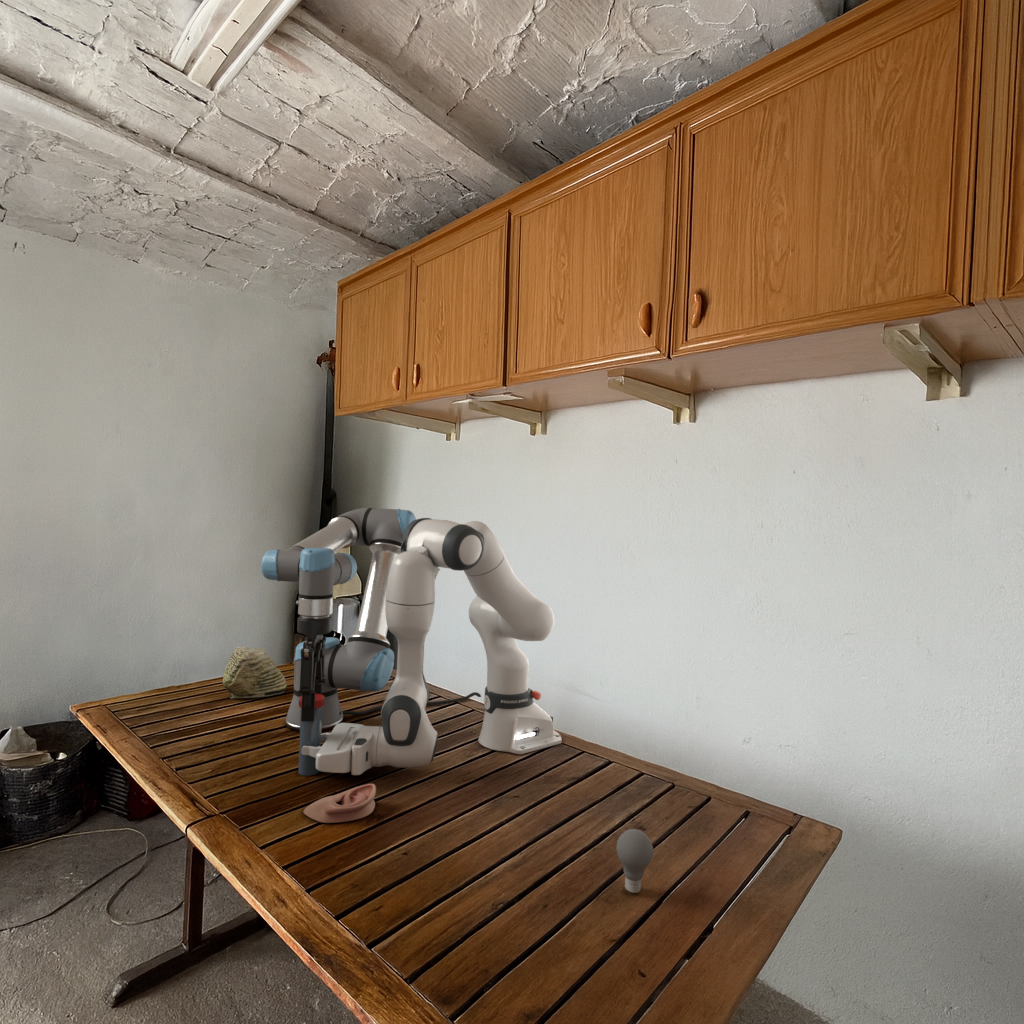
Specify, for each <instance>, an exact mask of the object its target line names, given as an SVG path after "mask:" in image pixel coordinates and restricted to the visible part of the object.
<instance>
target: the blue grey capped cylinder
mask: <svg viewBox="0 0 1024 1024" xmlns="http://www.w3.org/2000/svg"><path fill="white" fill-rule="evenodd" d="M301 713H302V708H301ZM301 713H300V731H299V740H298V741H299V742H298V743H299V744H298V770H297V773H298V774H299V775H300V776H306V777H308V776H315V775H317V774H319V773H320V771H319V770H317V769H316V758H315V757H312V756H310V755H302V753H301V750H302V747H303V746H304V745H311V746H313V747H318V746H322V743H321V734H322V731H321V728H322V707H320V708H317V709H315V714H314V722H308V721H301Z"/></svg>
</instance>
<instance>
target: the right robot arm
mask: <svg viewBox="0 0 1024 1024" xmlns="http://www.w3.org/2000/svg"><path fill="white" fill-rule="evenodd" d="M441 568H443V569H450V570H452V571H461V572H462V571H463V573H464V574H465V576H466V578H467V580H468V583H469V584H470V586H471V588H472V590H473V592H474V593H475V595H476V596H474V598H473V599H472V601H471V602H470V604H469V608H468V619H469V623H470V624H471V625H472V626H473V628H474V629H475V630H476V631H477V633H478V634H479V637H480V639H481V642H482V644H483V648H484V651H485V656H486V686H485V688H484V699H483V707H484V715H483V721H482V725H481V730H480V733H479V736H478V739H477V741H478V743H479V745H481V746H483V747H485V748H487V749H489V750H493V751H499V752H506V753H512V754H515V755H524V754H528V753H532V752H535V751H539V750H542V749H546V748H551V747H554V746H557V745H560V744H562V742H563V739H562V736H561V734H560V733H559V732H558V731H557V730H555V729H554V717H553V716H551V715H550V714H549V713H548V712H546V711H545V710H544V709H543V708H541V707H540V706H539V705H538V704H537V703H536V702H534V700H536V701H539V700H540V699H541V698H542V694H541V692H539V691H537V690H533V689H532V688H529V675H530V662H529V658H528V656H527V655H526V653H524V652H523V650H521V649H520V647H519V644H518V643H517V640H519V641H522V642H542V641H545V640H546V639H547V638H548V637H550V635H551V634H552V632H553V630H554V627H555V614H554V611H553V609H552V607H551V606H550V605H548V603H545V602H543V601H542V600H541V599H540V598H538V597H537V596H535V595H534V594H533V593H532V592H531V591H530V590H529V588H527V587H526V586H525V584H523V582H522V581H521V580H520V579H519V578H518V576H517V575H516V574H515V572H514V570H513V568H512V566H511V565H510V563H509V561H508V558H507V556H506V555H505V551H504V550H503V548H502V546H501V544H500V542H499V540H498V539H497V537H496V536H495V534H494V533H493V531H492V530H491V529H490V528H489V526H488V525H487V524H486V523H484V522H482V521H478V520H471V521H468V522H465V523H459V522H455V521H452V520H448V519H438V518H437V519H436V518H435V519H433V518H430V517H422V518H416V520H414V521H412V522H411V523H410V524H409V525H408V526H407V528H406V529H405V532H404V534H403V538H402V544H401V553H400V554H398V555H397V556H396V557H395V558H394V559H393V561H392V564H391V568H390V572H389V577H388V582H387V590H386V602H385V614H386V622H387V628H388V632H390V633H391V634H392V635H393V636H395V639H396V641H397V660H396V673H395V677H394V678H393V680H392V682H391V684H390V686H389V688H388V690H387V691H388V692H387V695H386V697H385V699H384V702H383V703H382V705H381V706H382V709H380V710H381V711H380V717H381V725H382V726H381V725H378V726H377V725H375V726H374V725H364V724H361V723H351V722H342V723H338V724H336V726H335V727H334V728H333V729H331V730H332V731H331V732H323V733H321V746H318V747H313V746H311V745H304V746H303V747H302V750H301V753H302V755H310V756H312V757H315V758H316V769H317V770H319V772H322V773H334V774H347V773H351V775H352V776H361V775H363V773H365V772H366V771H368V770H369V769H372V768H382V767H385V766H388V767H389V766H390V767H393V768H398V769H400V768H401V769H408V768H409V769H413V768H422V767H426V766H429V765H431V763H432V762H433V761H434V758H435V756H436V755H435V754H436V750H437V745H438V741H439V734H438V731H437V730H435V728H434V726H433V725H432V723H431V721H430V720H429V717H428V714H427V711H426V707H427V706H428V705H427V703H428V702H429V700H430V689H429V685H428V683H427V681H426V678H425V675H424V660H425V659H424V657H425V642H426V638H427V635H428V634H429V632H430V629H431V626H432V622H433V617H434V613H435V602H436V579H437V577H438V574H439V572H440V571H441Z"/></svg>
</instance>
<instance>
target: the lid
mask: <svg viewBox="0 0 1024 1024" xmlns="http://www.w3.org/2000/svg"><path fill="white" fill-rule="evenodd" d="M324 701H325V698H324V695H321V694H315V709H317V708H320V707H322V706H324ZM299 707H300V708H302V696H300V698H299Z"/></svg>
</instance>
